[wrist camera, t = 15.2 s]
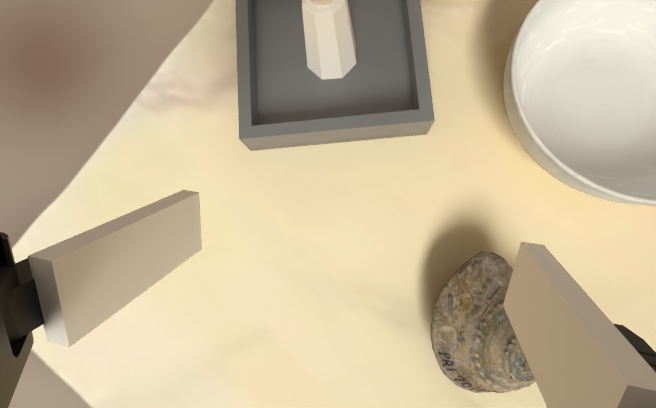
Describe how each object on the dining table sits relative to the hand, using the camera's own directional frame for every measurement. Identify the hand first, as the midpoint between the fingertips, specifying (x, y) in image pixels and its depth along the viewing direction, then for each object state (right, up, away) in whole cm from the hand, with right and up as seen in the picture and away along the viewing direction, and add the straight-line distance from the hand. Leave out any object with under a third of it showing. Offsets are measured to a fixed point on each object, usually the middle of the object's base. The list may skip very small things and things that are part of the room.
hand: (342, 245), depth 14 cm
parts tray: (0, +17, +22) cm, 28 cm away
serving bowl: (+25, +11, +19) cm, 34 cm away
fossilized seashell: (+13, -9, +17) cm, 24 cm away
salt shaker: (0, +17, +21) cm, 27 cm away
